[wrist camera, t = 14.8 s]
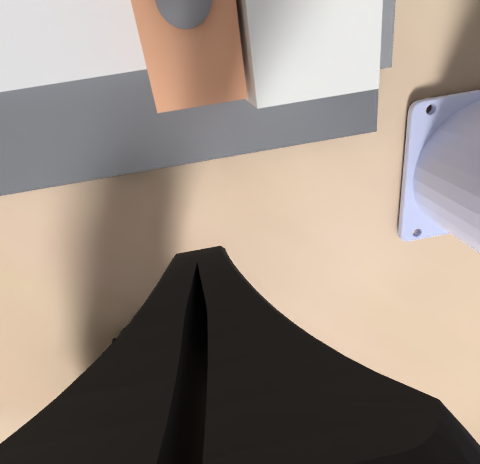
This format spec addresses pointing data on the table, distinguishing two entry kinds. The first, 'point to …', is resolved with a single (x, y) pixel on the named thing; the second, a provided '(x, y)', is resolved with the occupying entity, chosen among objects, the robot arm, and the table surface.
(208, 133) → the din rail
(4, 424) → the table surface
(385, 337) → the table surface
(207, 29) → the block with grey knob
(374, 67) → the block
